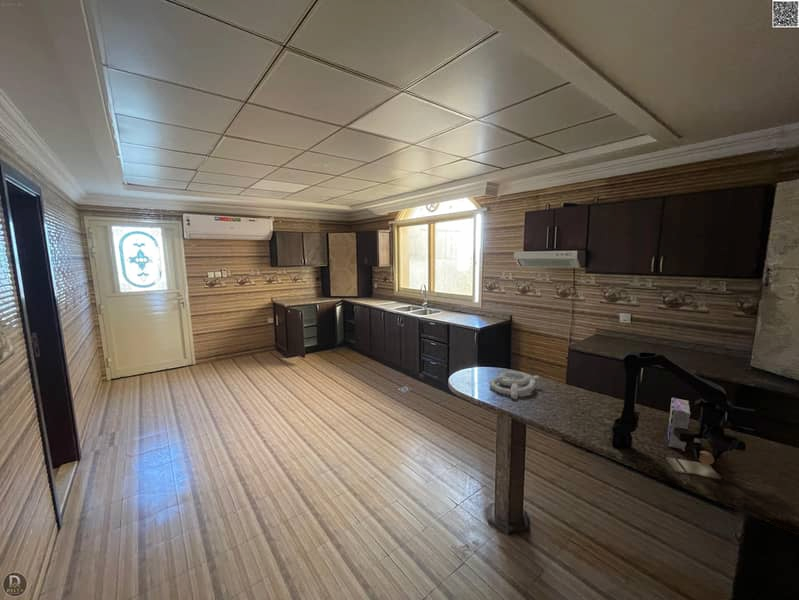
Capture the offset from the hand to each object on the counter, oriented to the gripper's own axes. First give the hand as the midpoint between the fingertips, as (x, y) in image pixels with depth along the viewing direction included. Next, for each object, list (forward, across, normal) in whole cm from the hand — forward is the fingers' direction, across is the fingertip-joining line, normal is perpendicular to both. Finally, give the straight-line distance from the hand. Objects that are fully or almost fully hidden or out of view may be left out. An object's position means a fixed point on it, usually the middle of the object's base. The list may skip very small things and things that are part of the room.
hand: (705, 460), depth 118 cm
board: (+4, -3, 0) cm, 5 cm away
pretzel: (+4, -65, +54) cm, 85 cm away
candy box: (+4, -1, +19) cm, 20 cm away
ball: (+1, 0, 0) cm, 1 cm away
